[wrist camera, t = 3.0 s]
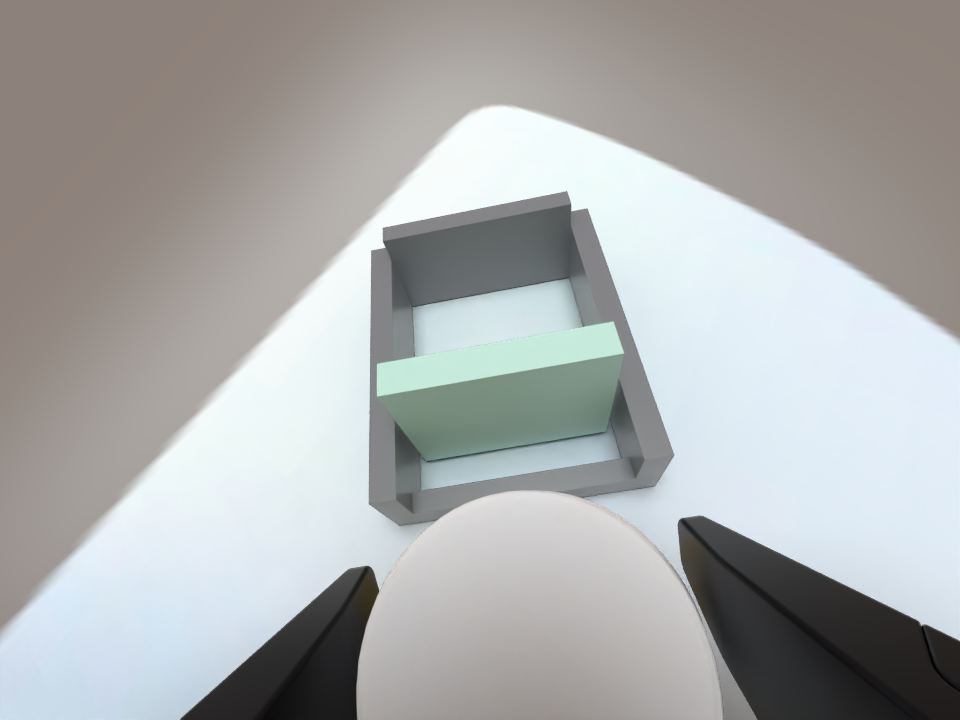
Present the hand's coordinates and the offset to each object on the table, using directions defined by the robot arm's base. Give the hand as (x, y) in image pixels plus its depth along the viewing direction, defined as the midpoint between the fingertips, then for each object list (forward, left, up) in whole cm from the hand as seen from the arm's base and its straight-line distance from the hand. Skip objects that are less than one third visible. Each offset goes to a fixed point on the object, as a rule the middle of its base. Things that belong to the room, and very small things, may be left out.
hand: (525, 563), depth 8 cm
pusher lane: (+7, -2, -7) cm, 10 cm away
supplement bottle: (-1, 0, -7) cm, 7 cm away
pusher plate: (+5, -1, -6) cm, 8 cm away
